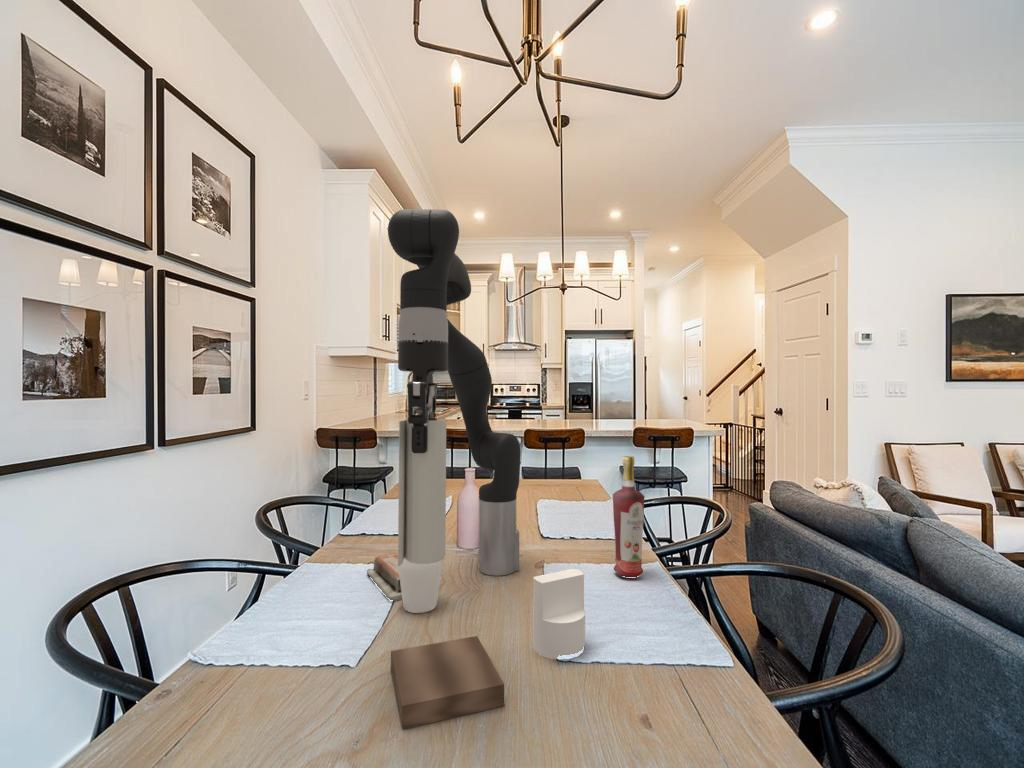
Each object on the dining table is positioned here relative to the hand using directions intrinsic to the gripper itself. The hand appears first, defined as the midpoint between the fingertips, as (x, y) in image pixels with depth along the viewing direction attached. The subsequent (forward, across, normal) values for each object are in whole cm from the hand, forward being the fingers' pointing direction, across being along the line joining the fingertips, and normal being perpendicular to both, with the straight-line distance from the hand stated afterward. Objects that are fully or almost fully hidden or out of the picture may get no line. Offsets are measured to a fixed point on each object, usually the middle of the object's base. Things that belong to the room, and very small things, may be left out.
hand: (422, 449), depth 75 cm
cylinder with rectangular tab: (+35, -9, +22) cm, 42 cm away
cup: (+35, -25, -4) cm, 43 cm away
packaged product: (+35, -37, -10) cm, 52 cm away
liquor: (+35, -39, +43) cm, 68 cm away
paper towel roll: (+17, 0, 0) cm, 17 cm away
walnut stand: (+35, +2, +4) cm, 35 cm away
